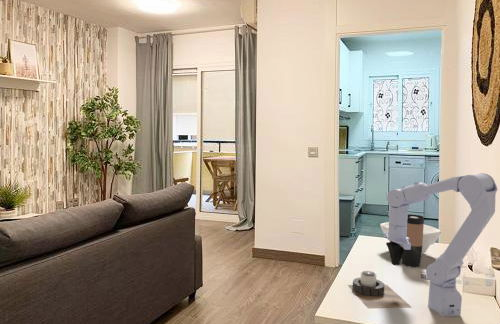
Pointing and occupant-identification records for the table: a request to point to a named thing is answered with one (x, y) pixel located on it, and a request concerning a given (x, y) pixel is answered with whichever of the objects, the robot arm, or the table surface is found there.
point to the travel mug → (414, 241)
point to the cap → (368, 279)
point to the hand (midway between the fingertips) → (395, 264)
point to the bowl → (428, 235)
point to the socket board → (378, 295)
